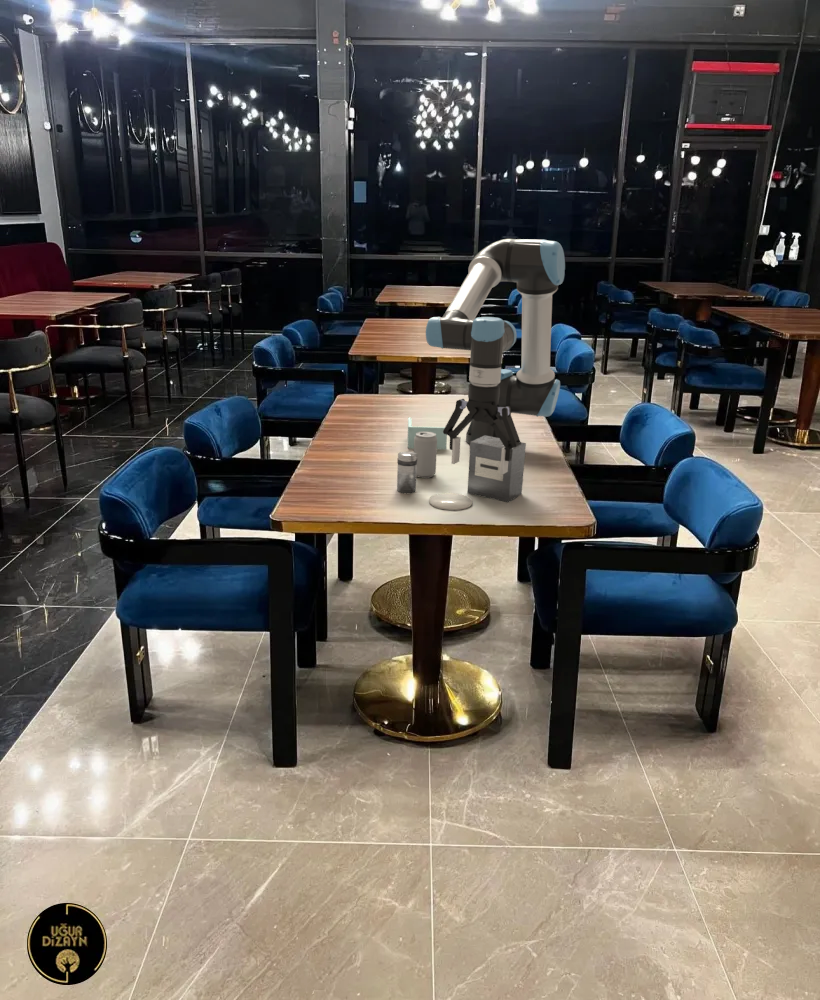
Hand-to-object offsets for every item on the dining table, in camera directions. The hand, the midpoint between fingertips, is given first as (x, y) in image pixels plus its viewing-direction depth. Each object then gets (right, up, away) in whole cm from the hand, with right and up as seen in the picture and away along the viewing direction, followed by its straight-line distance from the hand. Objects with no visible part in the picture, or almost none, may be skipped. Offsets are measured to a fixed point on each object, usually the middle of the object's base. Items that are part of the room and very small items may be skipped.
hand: (479, 467), depth 195 cm
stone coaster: (-7, -9, +4) cm, 12 cm away
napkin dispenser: (+5, -6, +11) cm, 14 cm away
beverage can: (-13, -1, +24) cm, 28 cm away
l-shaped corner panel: (-12, +9, +55) cm, 57 cm away
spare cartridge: (-18, -6, +12) cm, 22 cm away
